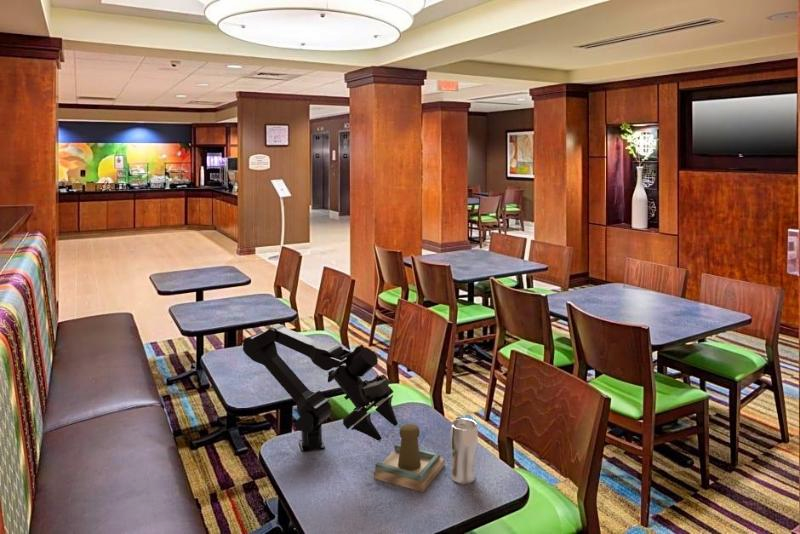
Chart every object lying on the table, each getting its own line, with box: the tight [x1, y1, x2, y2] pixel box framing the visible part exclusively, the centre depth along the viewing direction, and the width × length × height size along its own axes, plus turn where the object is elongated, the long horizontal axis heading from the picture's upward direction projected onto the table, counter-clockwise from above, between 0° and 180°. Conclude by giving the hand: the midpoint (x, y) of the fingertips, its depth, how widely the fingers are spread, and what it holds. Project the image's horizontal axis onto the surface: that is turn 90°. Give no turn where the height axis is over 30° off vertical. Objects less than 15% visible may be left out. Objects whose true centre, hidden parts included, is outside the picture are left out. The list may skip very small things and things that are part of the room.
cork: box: [398, 423, 421, 471], centre depth 155 cm, size 6×6×11 cm
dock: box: [373, 443, 445, 493], centre depth 156 cm, size 14×14×4 cm
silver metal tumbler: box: [449, 417, 479, 485], centre depth 152 cm, size 7×7×15 cm
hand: (388, 432), depth 157 cm, fingers open, 9 cm apart
